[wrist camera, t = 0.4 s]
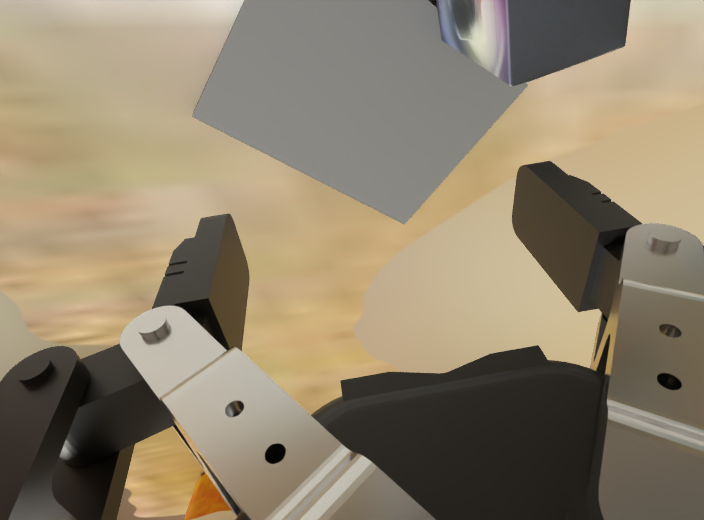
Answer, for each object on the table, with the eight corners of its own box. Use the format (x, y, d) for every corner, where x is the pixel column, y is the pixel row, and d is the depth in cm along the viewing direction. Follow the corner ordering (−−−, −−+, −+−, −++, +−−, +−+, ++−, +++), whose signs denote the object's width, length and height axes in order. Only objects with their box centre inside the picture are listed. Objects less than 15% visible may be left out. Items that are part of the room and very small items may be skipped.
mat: (296, -113, 24) (296, -113, 23) (523, 81, 33) (528, 85, 33) (193, 112, 31) (192, 116, 31) (402, 219, 41) (404, 224, 40)
